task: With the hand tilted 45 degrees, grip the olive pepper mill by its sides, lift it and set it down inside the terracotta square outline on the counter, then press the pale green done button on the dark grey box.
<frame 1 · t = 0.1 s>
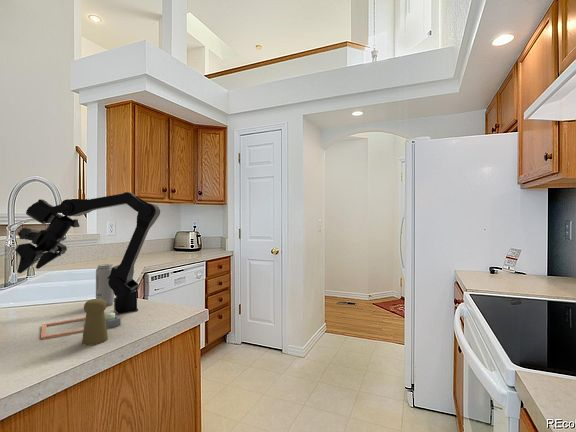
hand: (28, 270, 107), 15 cm above the counter, fingers open, 9 cm apart
terracotta outline: (69, 327, 94), on the counter
button box: (109, 325, 96), on the counter
olive pepper mill: (95, 341, 84), on the counter
energy drink can: (105, 305, 119), on the counter
done button: (109, 317, 96), point 2 cm above the counter, slide at 0.0 cm
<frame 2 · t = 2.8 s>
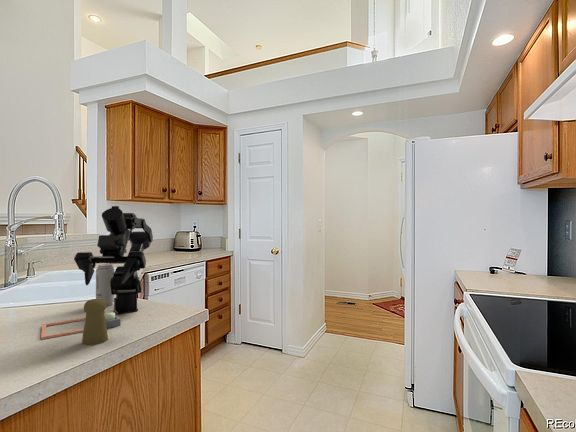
hand: (104, 283, 90), 14 cm above the counter, fingers open, 9 cm apart
nothing on the counter moved.
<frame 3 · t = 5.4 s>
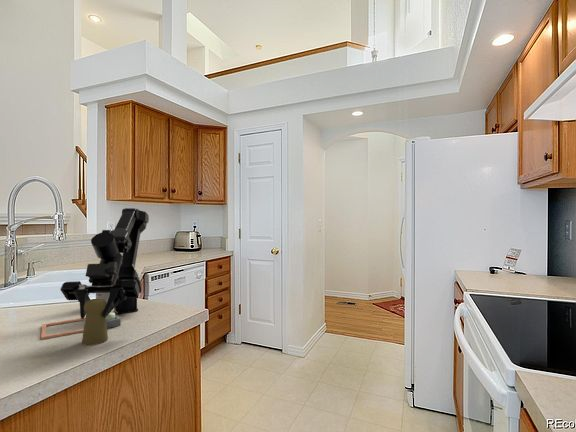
hand: (93, 317, 83), 7 cm above the counter, fingers closed on olive pepper mill, 5 cm apart
olive pepper mill: (95, 341, 84), on the counter, touching gripper
everything else where it was.
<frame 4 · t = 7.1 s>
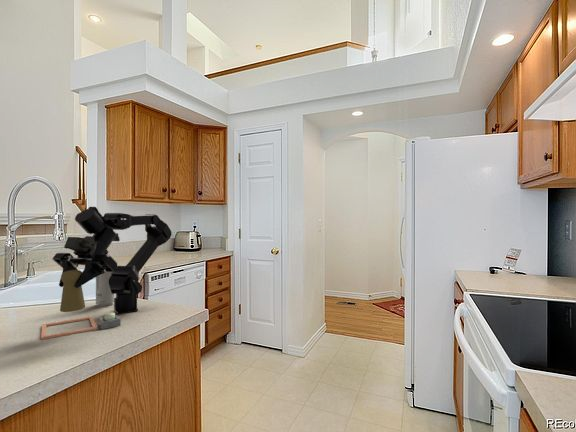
hand: (67, 286, 89), 13 cm above the counter, fingers closed on olive pepper mill, 5 cm apart
olive pepper mill: (72, 309, 90), point 7 cm above the counter, touching gripper
everything else where it was.
when the fingers open (8 cm above the counter, at t = 8.9 s): olive pepper mill drops 1 cm, resting in terracotta outline.
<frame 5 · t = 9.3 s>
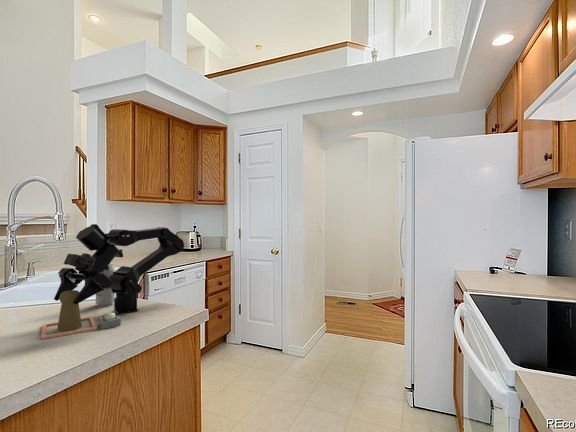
hand: (64, 301, 93), 8 cm above the counter, fingers open, 9 cm apart
olive pepper mill: (69, 328, 94), resting in terracotta outline
everything else where it was.
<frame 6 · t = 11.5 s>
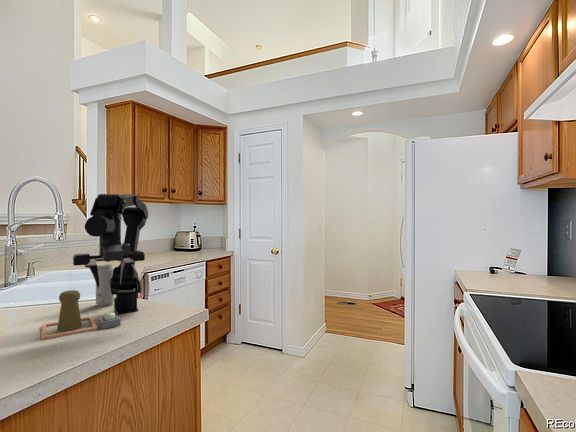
hand: (109, 285, 96), 12 cm above the counter, fingers open, 6 cm apart
nothing on the counter moved.
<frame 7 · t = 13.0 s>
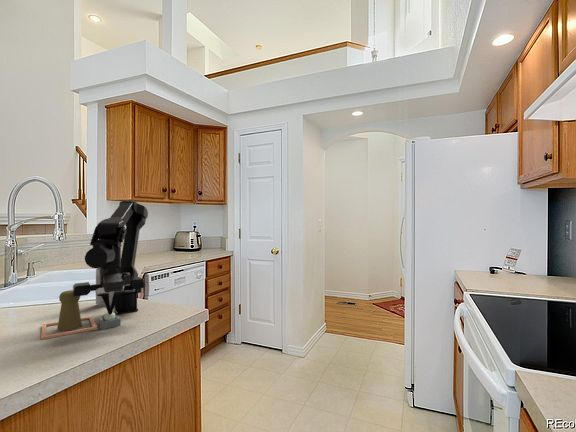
hand: (110, 313, 96), 3 cm above the counter, fingers closed, pressing on done button
done button: (109, 317, 96), point 2 cm above the counter, slide at 0.0 cm, touching gripper
everything else where it was.
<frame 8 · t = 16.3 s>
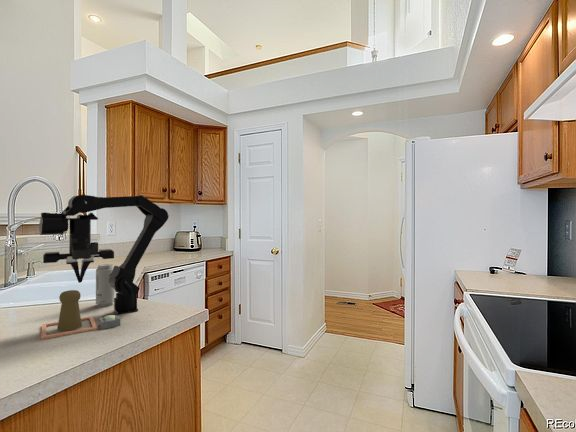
hand: (79, 282, 101), 12 cm above the counter, fingers closed
done button: (109, 320, 96), point 1 cm above the counter, slide at 0.8 cm
everything else where it was.
at the end: olive pepper mill 0.1 cm from the terracotta outline (horizontally); olive pepper mill tilted 0°; done button slide at 0.8 cm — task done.
